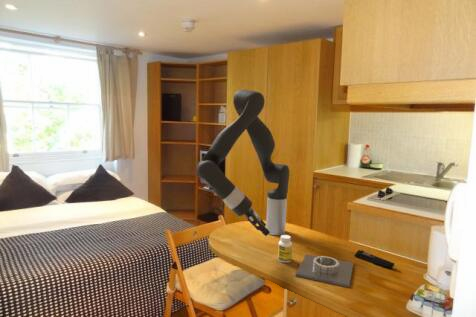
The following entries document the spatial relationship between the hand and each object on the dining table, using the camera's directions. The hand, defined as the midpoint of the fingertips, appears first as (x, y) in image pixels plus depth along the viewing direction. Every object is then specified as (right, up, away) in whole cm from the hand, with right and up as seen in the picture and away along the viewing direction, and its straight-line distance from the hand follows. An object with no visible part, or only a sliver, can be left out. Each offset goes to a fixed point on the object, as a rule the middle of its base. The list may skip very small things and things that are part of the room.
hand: (266, 230), depth 127 cm
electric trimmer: (+42, -13, +3) cm, 45 cm away
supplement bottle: (+7, -12, +2) cm, 15 cm away
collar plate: (+21, -14, -6) cm, 26 cm away
